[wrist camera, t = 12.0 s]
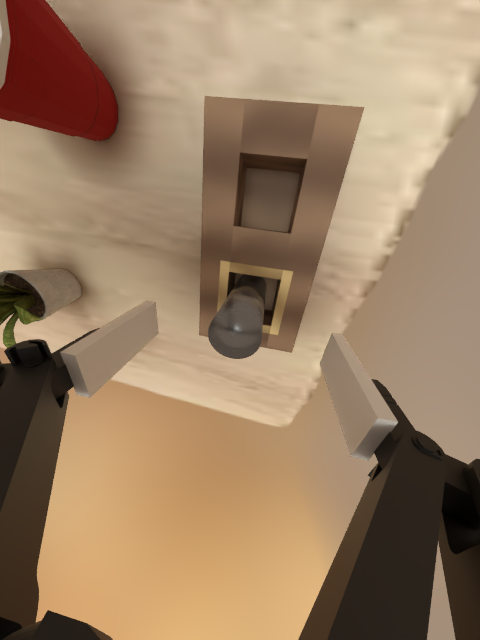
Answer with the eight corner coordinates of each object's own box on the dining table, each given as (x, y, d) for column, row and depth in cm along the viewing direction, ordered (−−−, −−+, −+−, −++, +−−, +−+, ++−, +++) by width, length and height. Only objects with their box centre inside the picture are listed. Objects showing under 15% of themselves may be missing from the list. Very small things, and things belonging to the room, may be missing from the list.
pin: (238, 270, 25) (208, 307, 13) (268, 274, 24) (265, 315, 13) (235, 299, 27) (207, 354, 15) (264, 303, 26) (257, 362, 15)
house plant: (102, 240, 27) (-103, 257, 12) (121, 327, 33) (0, 406, 18) (15, 230, 28) (-262, 233, 14) (48, 314, 34) (-117, 378, 20)
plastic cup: (132, 21, 17) (-101, -316, 7) (147, 170, 22) (28, 116, 11) (27, 22, 18) (-316, -263, 8) (64, 163, 23) (-115, 109, 12)
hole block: (220, 126, 19) (203, 94, 15) (342, 136, 18) (365, 105, 14) (210, 318, 29) (198, 335, 25) (289, 332, 28) (291, 353, 24)
